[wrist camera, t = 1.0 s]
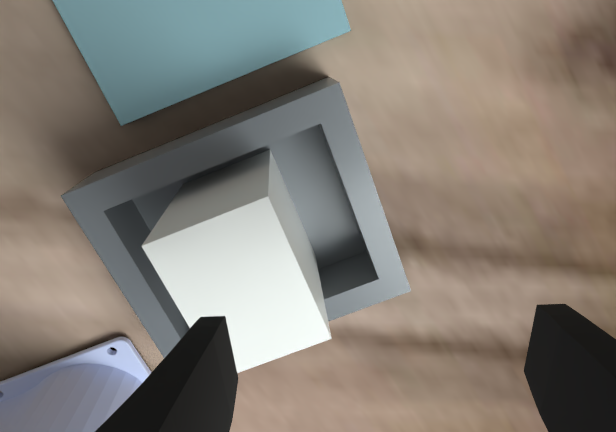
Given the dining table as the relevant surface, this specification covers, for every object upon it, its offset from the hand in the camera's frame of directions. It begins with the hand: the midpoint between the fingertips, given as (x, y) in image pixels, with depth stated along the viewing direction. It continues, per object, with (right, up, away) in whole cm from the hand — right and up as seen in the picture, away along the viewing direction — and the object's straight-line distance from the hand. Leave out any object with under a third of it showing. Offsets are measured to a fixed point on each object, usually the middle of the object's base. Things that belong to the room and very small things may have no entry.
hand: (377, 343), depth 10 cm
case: (-4, +3, +12) cm, 13 cm away
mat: (-6, +13, +8) cm, 16 cm away
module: (-4, +3, +11) cm, 13 cm away
